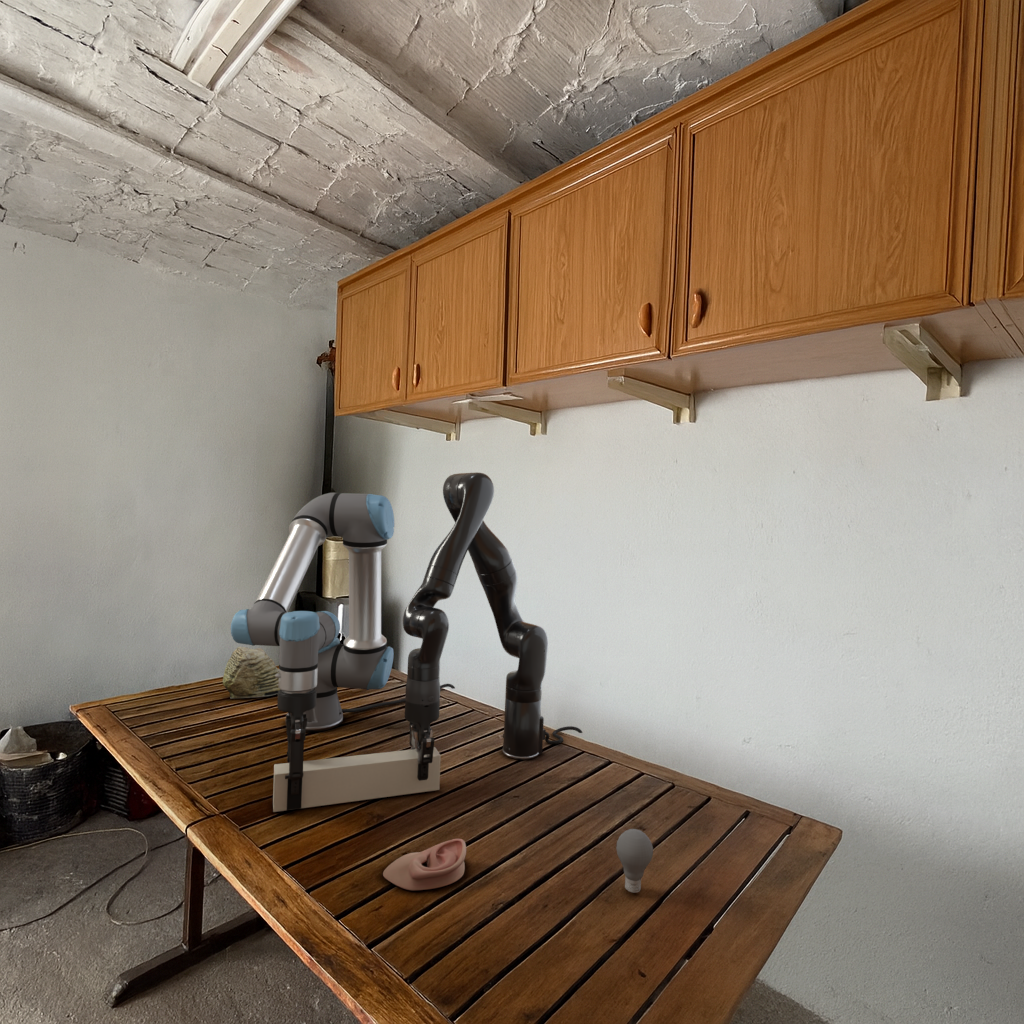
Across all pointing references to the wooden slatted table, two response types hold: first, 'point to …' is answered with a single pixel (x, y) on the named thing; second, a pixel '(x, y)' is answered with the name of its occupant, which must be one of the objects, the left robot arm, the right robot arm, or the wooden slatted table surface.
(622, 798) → the wooden slatted table surface
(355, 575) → the left robot arm
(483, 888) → the wooden slatted table surface
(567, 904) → the wooden slatted table surface
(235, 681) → the fossil
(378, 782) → the beam
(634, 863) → the light bulb
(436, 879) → the anatomical model
